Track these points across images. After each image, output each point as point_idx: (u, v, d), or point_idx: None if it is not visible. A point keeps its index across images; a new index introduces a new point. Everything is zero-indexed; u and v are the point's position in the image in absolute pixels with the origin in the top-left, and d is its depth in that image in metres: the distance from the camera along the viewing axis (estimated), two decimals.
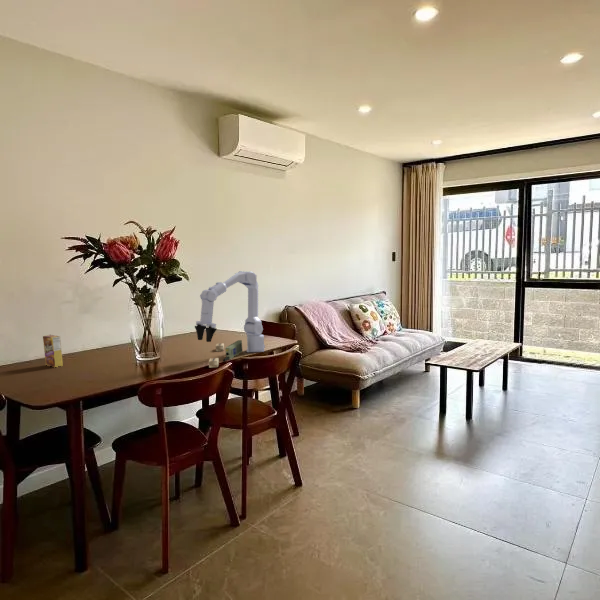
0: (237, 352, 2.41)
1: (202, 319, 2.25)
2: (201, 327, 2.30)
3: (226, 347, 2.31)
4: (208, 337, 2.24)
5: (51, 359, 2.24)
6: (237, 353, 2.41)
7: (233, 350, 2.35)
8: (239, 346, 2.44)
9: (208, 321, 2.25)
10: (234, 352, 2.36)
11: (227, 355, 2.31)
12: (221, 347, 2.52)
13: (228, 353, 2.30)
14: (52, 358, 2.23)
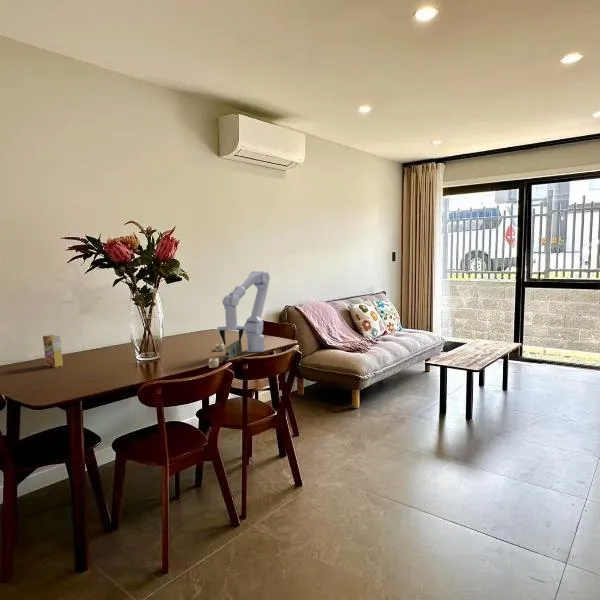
0: (237, 352, 2.41)
1: (232, 324, 2.33)
2: (224, 332, 2.36)
3: (226, 347, 2.31)
4: None
5: (51, 359, 2.24)
6: (237, 353, 2.41)
7: (233, 350, 2.35)
8: (238, 346, 2.44)
9: (236, 325, 2.36)
10: (234, 352, 2.36)
11: (227, 355, 2.31)
12: (221, 347, 2.52)
13: (228, 353, 2.30)
14: (52, 358, 2.23)
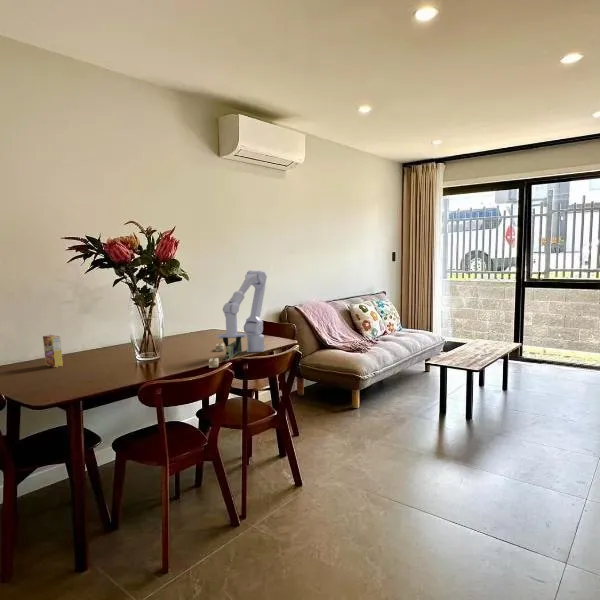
0: None
1: (232, 332, 2.34)
2: (227, 339, 2.37)
3: (226, 346, 2.31)
4: (237, 347, 2.37)
5: (51, 359, 2.24)
6: (236, 352, 2.41)
7: (233, 349, 2.35)
8: None
9: None
10: (234, 351, 2.36)
11: None
12: (221, 347, 2.52)
13: (228, 352, 2.30)
14: (52, 358, 2.23)
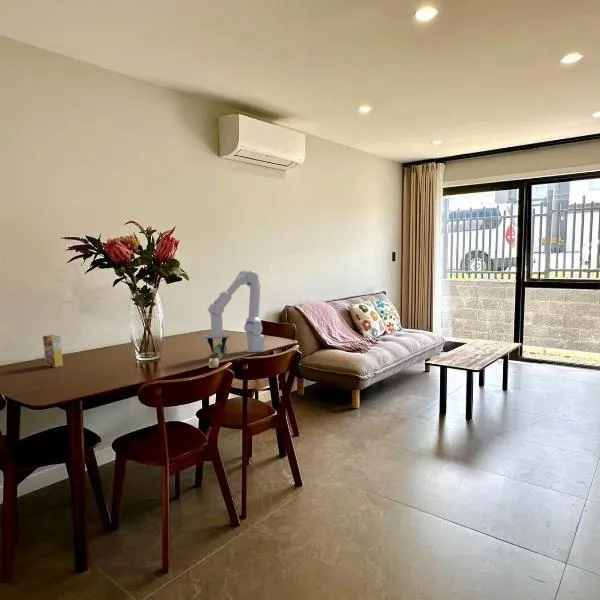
0: (224, 351, 2.41)
1: (217, 332, 2.33)
2: (212, 340, 2.36)
3: (214, 348, 2.30)
4: (223, 348, 2.36)
5: (51, 359, 2.24)
6: (224, 352, 2.41)
7: (220, 349, 2.34)
8: None
9: (222, 333, 2.35)
10: None
11: (216, 355, 2.30)
12: None
13: (217, 353, 2.30)
14: (52, 358, 2.23)
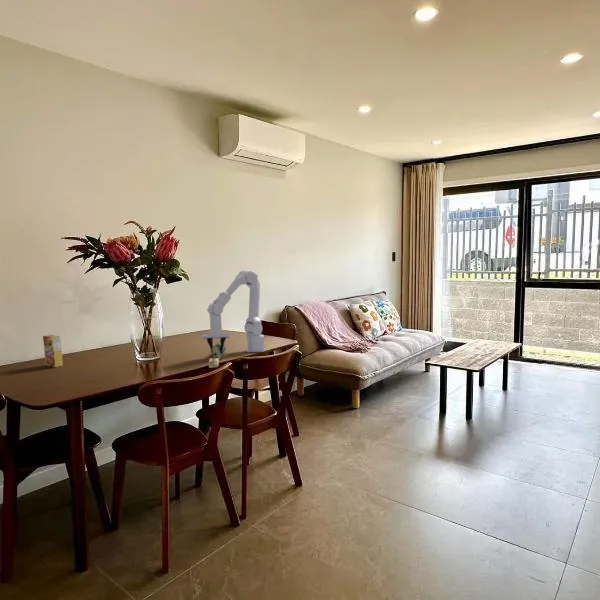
0: (223, 351, 2.41)
1: (217, 332, 2.33)
2: (212, 340, 2.36)
3: (212, 348, 2.30)
4: None
5: (51, 359, 2.24)
6: (223, 352, 2.41)
7: (219, 349, 2.34)
8: None
9: (221, 333, 2.35)
10: (220, 351, 2.36)
11: (215, 355, 2.30)
12: None
13: (216, 353, 2.30)
14: (52, 358, 2.23)
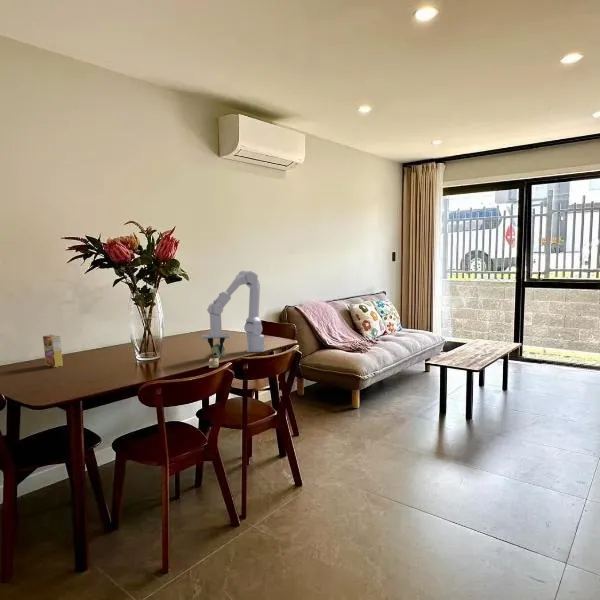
0: (222, 351, 2.41)
1: (217, 332, 2.33)
2: (212, 340, 2.36)
3: (212, 348, 2.30)
4: (221, 348, 2.36)
5: (51, 359, 2.24)
6: (222, 352, 2.41)
7: (219, 349, 2.34)
8: None
9: (221, 333, 2.35)
10: None
11: (215, 355, 2.30)
12: None
13: (215, 353, 2.30)
14: (52, 358, 2.23)
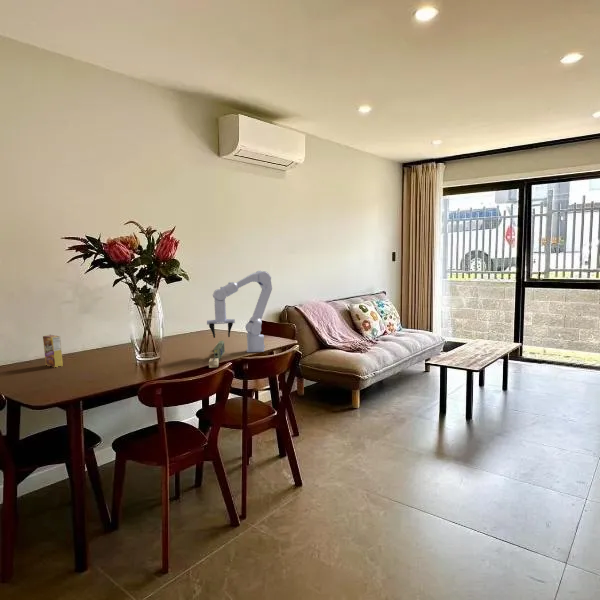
0: (222, 352, 2.41)
1: (221, 318, 2.39)
2: None
3: (214, 348, 2.30)
4: (229, 332, 2.42)
5: (51, 359, 2.24)
6: (222, 353, 2.41)
7: (220, 350, 2.34)
8: (222, 346, 2.44)
9: (225, 318, 2.41)
10: (221, 352, 2.36)
11: (216, 356, 2.30)
12: None
13: (217, 354, 2.30)
14: (52, 358, 2.23)
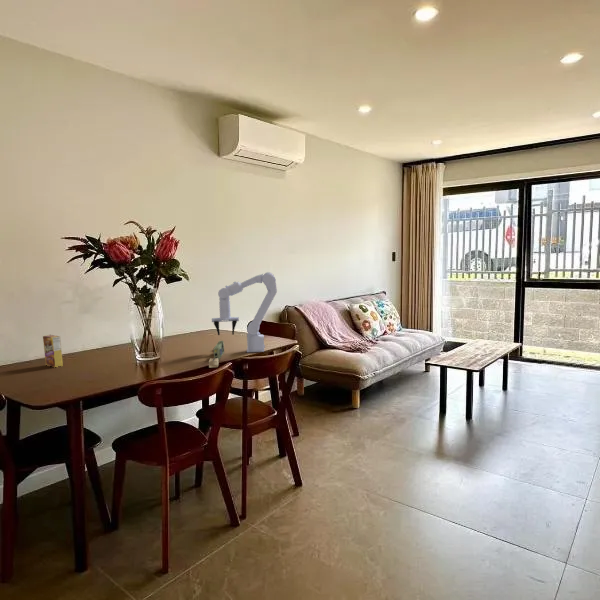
0: (222, 352, 2.41)
1: (226, 316, 2.46)
2: (218, 323, 2.48)
3: (214, 348, 2.30)
4: (233, 330, 2.49)
5: (51, 359, 2.24)
6: (222, 353, 2.41)
7: (220, 350, 2.34)
8: (222, 346, 2.44)
9: (230, 316, 2.48)
10: (220, 352, 2.36)
11: (215, 356, 2.30)
12: None
13: (217, 354, 2.30)
14: (52, 358, 2.23)
